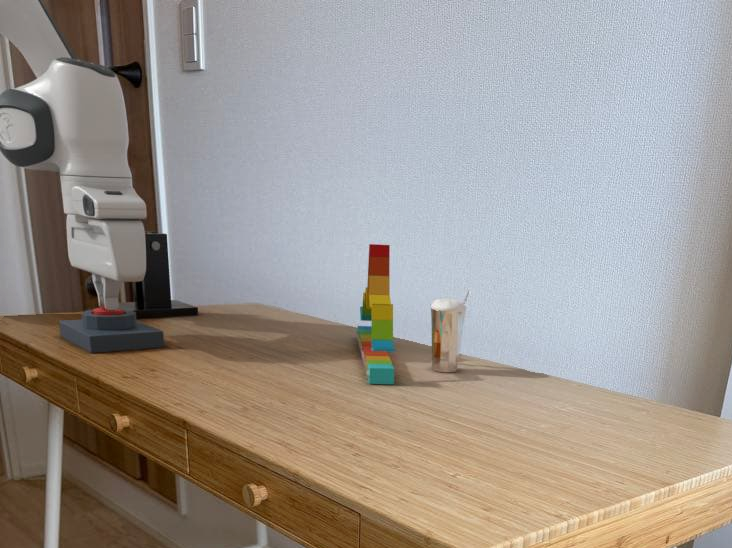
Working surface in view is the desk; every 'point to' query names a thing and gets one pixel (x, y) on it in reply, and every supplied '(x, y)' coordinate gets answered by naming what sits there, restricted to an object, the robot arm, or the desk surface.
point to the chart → (377, 318)
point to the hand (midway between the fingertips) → (109, 309)
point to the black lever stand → (156, 284)
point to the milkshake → (447, 333)
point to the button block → (111, 332)
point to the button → (106, 312)
